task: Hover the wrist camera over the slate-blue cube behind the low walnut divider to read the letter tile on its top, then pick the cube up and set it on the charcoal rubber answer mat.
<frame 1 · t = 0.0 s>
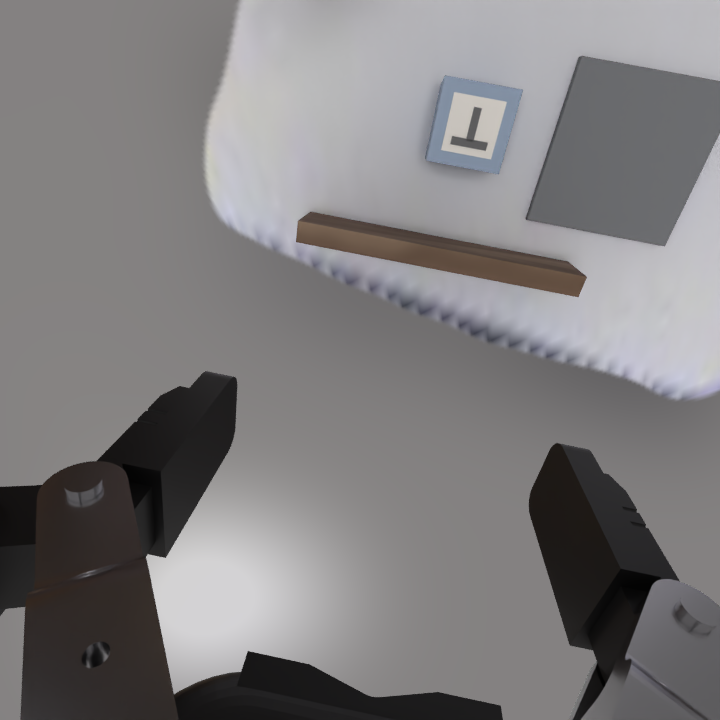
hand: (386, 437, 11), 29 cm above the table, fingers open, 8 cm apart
answer mat: (623, 157, 33), on the table
letter cube: (465, 128, 34), on the table
walnut divider: (436, 246, 38), on the table
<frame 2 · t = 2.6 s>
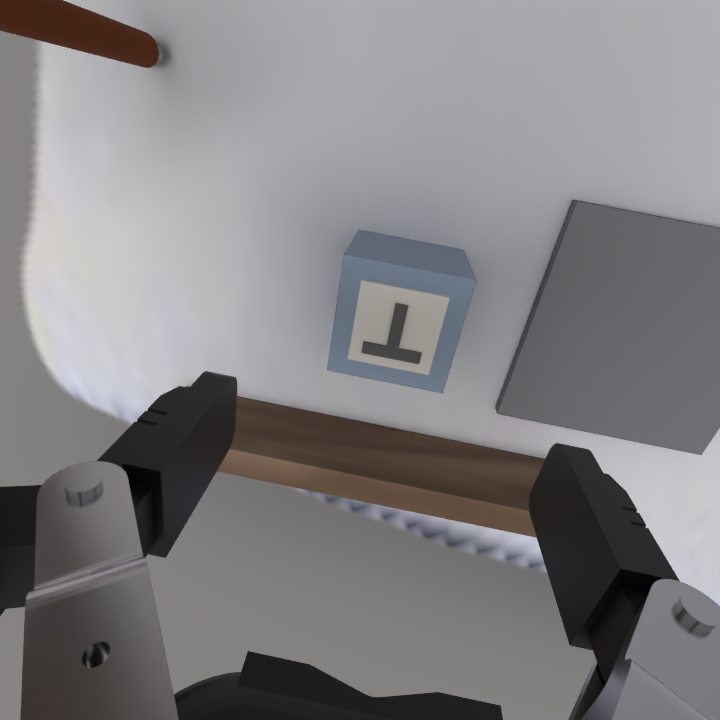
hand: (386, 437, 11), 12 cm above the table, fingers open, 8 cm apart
answer mat: (640, 337, 22), on the table
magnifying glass: (160, 54, 19), on the table
letter cube: (400, 289, 22), on the table
walnut divider: (368, 434, 26), on the table
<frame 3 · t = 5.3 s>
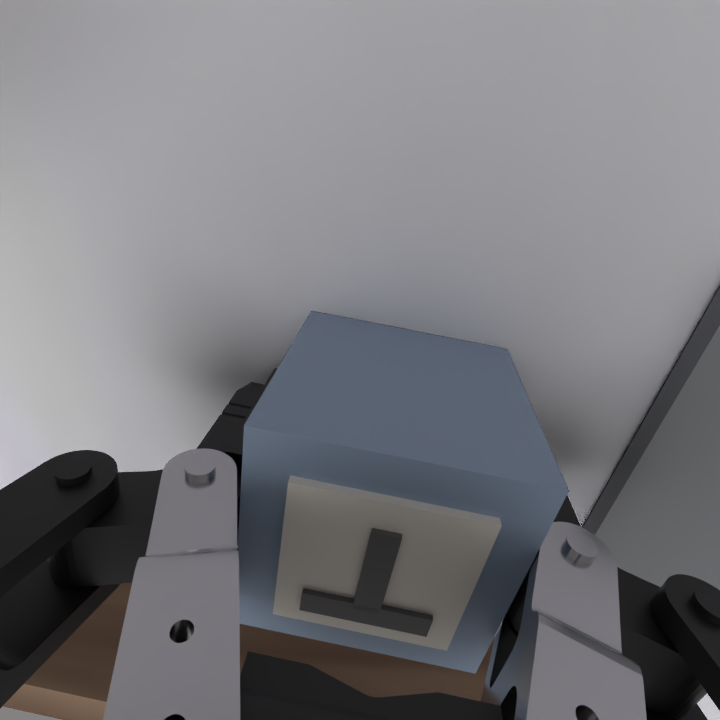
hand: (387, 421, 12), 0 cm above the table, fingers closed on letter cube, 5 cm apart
letter cube: (389, 411, 12), on the table, touching gripper
walnut divider: (340, 610, 16), on the table
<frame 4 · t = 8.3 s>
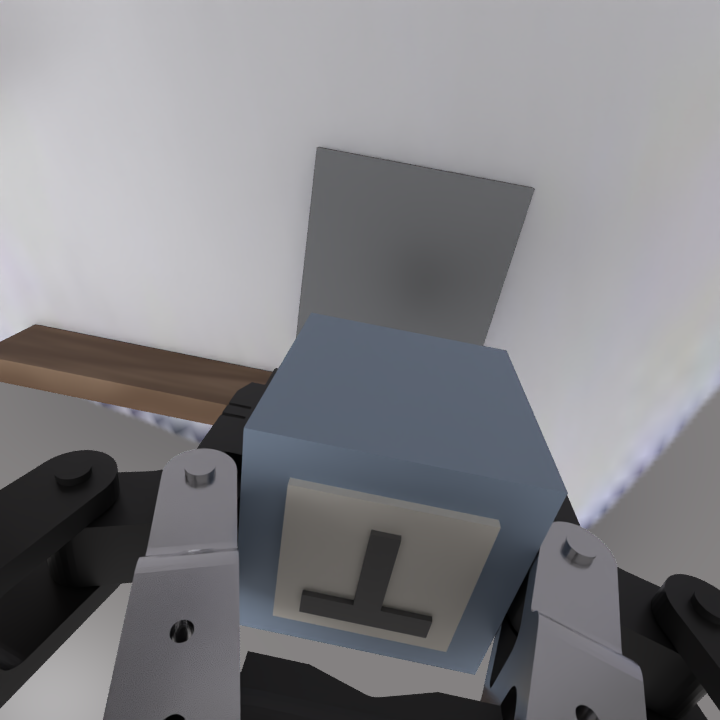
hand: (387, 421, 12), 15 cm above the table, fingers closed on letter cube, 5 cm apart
answer mat: (402, 271, 25), on the table
letter cube: (389, 412, 12), point 14 cm above the table, touching gripper
walnut divider: (196, 367, 29), on the table
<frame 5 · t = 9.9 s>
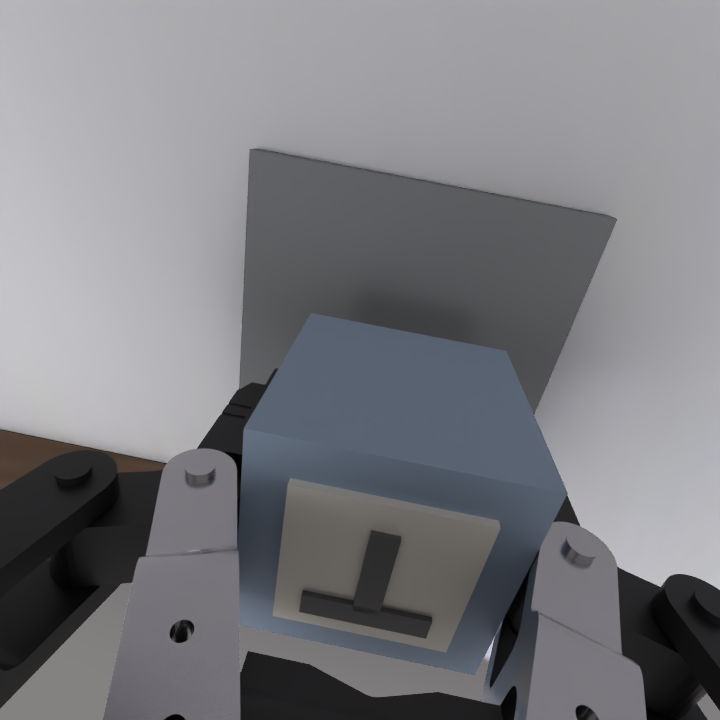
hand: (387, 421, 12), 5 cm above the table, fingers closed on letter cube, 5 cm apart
answer mat: (395, 341, 16), on the table
letter cube: (389, 413, 12), point 4 cm above the table, touching gripper
walnut divider: (102, 463, 21), on the table
when the fingers open (3 cm above the table, at t = 11.3 s): letter cube drops 1 cm, resting on answer mat.
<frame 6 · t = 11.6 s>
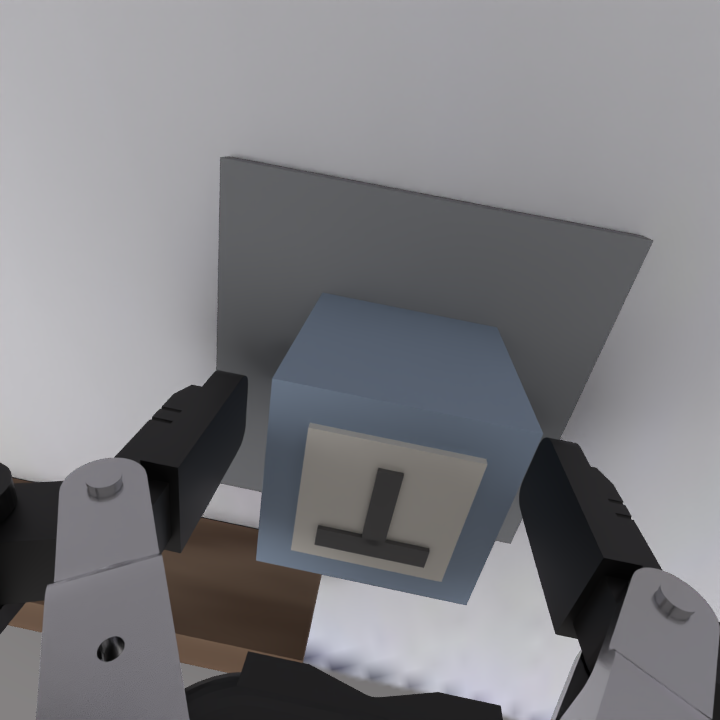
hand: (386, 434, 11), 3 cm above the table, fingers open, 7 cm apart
answer mat: (392, 375, 14), on the table
letter cube: (391, 385, 14), point 1 cm above the table, touching answer mat
walnut divider: (67, 503, 19), on the table
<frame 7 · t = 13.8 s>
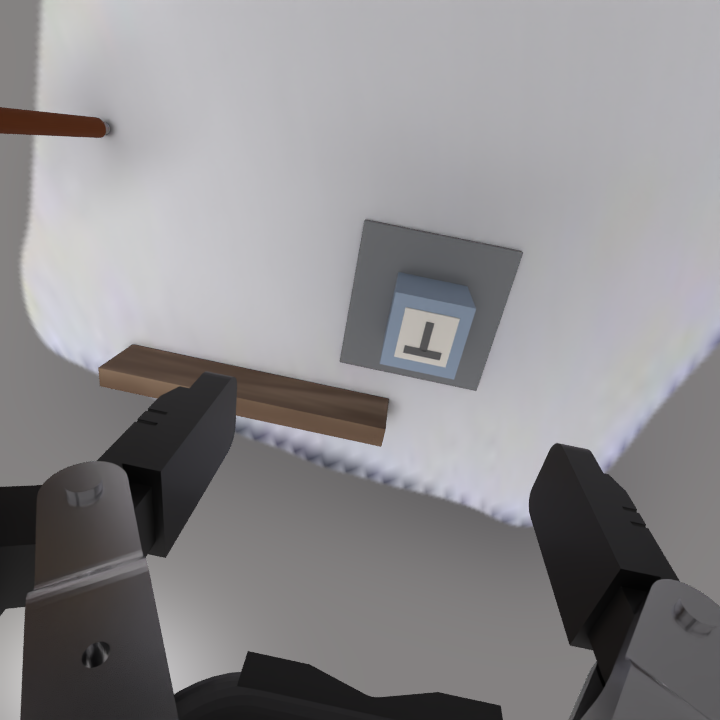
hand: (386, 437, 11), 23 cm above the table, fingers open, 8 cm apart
answer mat: (424, 309, 33), on the table
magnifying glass: (108, 128, 30), on the table
letter cube: (424, 311, 33), point 1 cm above the table, touching answer mat
walnut divider: (259, 379, 37), on the table
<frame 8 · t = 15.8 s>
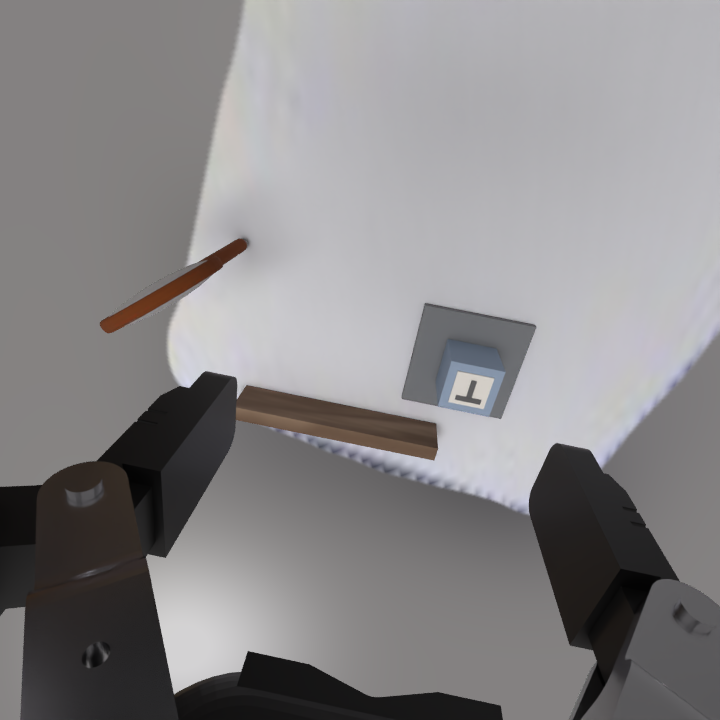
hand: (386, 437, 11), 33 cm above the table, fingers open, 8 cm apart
answer mat: (464, 362, 46), on the table
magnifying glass: (245, 242, 43), on the table
letter cube: (465, 365, 46), point 1 cm above the table, touching answer mat
walnut divider: (339, 410, 51), on the table
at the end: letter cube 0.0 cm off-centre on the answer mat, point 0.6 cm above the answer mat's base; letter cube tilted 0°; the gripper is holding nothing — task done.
